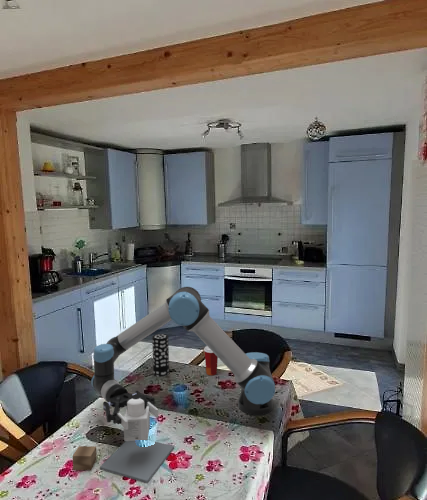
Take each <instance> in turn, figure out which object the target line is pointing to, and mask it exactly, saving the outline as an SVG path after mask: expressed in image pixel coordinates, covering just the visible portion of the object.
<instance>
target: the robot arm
mask: <svg viewBox="0 0 427 500" xmlns="http://www.w3.org/2000/svg"><path fill="white" fill-rule="evenodd" d="M171 321H173V322H174V323H175V324H176V325H178V326H182V327H183V329H185V330H186V331H187V332H193V333H194V334H195V335H196V336H197V337H198V338H199V339H200V340H201V341H202V343H204V344H205V345H206V346H208V347H209V348H210V349H211V350H212V352H213V353H214V354H215V355H216V356H217V357H218V359H219V360H220V361H221V362H222V364H224V365H225V366H226V367H227V368H228V370H230V372H231V373H232V374H233V375H234V381H235V382H236V384H237V385H238V386H239V387H240V388H241V390H240V393H239V396H238V399H237V406H238V408H239V410H240V411H242V412H243V413H245V414H249V415H253V416H254V415H255V416H261V415H266V414H268V413H270V412H271V411H273V409H274V400H273V397H274V396H275V393H276V384H275V381H274V378H273V375H272V373H271V369H270V356H269V355H268V354H267V353H264V352H257V351H255V352H253V351H251V352H247V353H245V351H244V350H243V349H241V348H240V347H239V346H238V344H236V342H235V341H234V340H233V339H232V338H231V337H230V336H229V335H228V334H227V333H226V332H225V331H224V330H223V328H221V327H220V325H218V323H217V322H216V321H215V320H214V319H213V318H212V317H211V316H210V308H208V307H207V306H206V305H205V303H203V302H202V298H201V295H200V293H199V291H198V290H197V289H196V288H194V287H191V286H183V287H180V288H179V289H178V290H176V291H175V292H174V293H173V294H172V295H171V296H169V297H168V298H166V299H165V302H164V303H163V304H162V305H160V306H158V307H157V308H156V309H154V310H153V311H151V312H150V313H148V314H146V316H144V317H143V318H141V319H139V320H138V321H136V322H135V323H134V324H132V325H131V326H128V328H126V329H124V330H123V331H122V332H120V333H118V335H116V336H114V337H112V338H110V339H109V340H108V341H107V342H106V343H101V344H98V345H96V346H95V347H94V349H93V355H92V357H93V370H94V371H93V372H94V374H93V376H92V377H91V381H90V383H91V387H92V388H93V390H94V391H95V392H96V393H97V394H98V395H99V396H100V397H102V398H103V399H104V400H105V401H103V402H102V406H103V408H102V409H103V411H105V416H106V423H111V422H113V424H117V425H121V426H122V427H123V429H124V428H125V429H126V430H127V429H128V421H127V420H126V419H125V418H124V417H125V416H124V415H122V414H121V413H120V410H121V409H122V408H126V407H127V399H128V398H129V397H130V396H132V395H136V394H141V395H144V396H145V397H146V404H147V406H149V414H152V415H153V416H154V417H155V418H156V419H157V418H159V408H157V406H156V401H155V400H156V399H155V397H153V396H150V395H148V394H145V393H142V392H140V391H139V390H135V393H130V392H129V391H128V389H126V388H125V387H124V386H123V385H122V384H120V383H119V382H118V381H117V380H116V379H115V362H116V361H117V359H118V358H119V357H120V355H123V353H125V352H126V351H128V350H129V349H130V348H132V347H134V346H135V345H137V344H138V343H140V342H141V341H143V340H144V339H146V338H147V337H148V336H151V334H153V333H154V332H156V331H157V330H160V328H162V327H164V326H165V325H167V324H168V323H169V322H171ZM111 407H112V408H114V409H113V412H112V413H111Z"/></svg>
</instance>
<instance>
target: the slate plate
mask: <svg viewBox="0 0 427 500" xmlns="http://www.w3.org/2000/svg"><path fill="white" fill-rule="evenodd" d="M174 450H175V446H174V445H171V444H168V443H163V442H159V441H155V444H154V445H151V446H148V447H139V446H137V445H136V443H135V441H124V442H123V443H122V444H121V445H120V446H119V447H118V448H117V449H116V450H115V451H114V452H113V453H112V454H111V455H110V456H109V457H108V458H107V459H106V460H105V461H104V462H103V463H102V464H101V465H100V466H99V470H101V471H105V472H108V473H112V474H115V475H119V476H122V477H125V478H129V479H132V480H136V481H138V482H142V483H146V484H149V482H150V481H151V479H152V478H153V477H154V475H155V474H156V473H157V471H158V470H159V469H160V468H161V467H162V465H163V463H164V462H166V460H167V458H168V457H169V456H170V455H171V453H172V452H173V451H174Z"/></svg>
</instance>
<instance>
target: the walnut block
mask: <svg viewBox="0 0 427 500" xmlns="http://www.w3.org/2000/svg"><path fill="white" fill-rule="evenodd" d="M97 455H98V454H97V446H88V445H87V446H85V445H82V446H81V445H80V446H78V447H77V448H76V450H75V452H74V453H73V455H72V470H73V471H92V469H93V468H94V466H95V464H96V462H97V460H98V457H97Z"/></svg>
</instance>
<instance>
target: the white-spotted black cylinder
mask: <svg viewBox="0 0 427 500" xmlns="http://www.w3.org/2000/svg"><path fill="white" fill-rule="evenodd" d="M151 339H152V342H151V343H152V369H153V370H152V374H153V376H155V377H161V378H162V377H166V376H168V375H169V374H170V357H169V356H170V354H169V351H170V350H169V349H170V348H169V347H170V346H169V335H168V334H167V333H166V334H164V333H158V334H154V335H152V338H151Z"/></svg>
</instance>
